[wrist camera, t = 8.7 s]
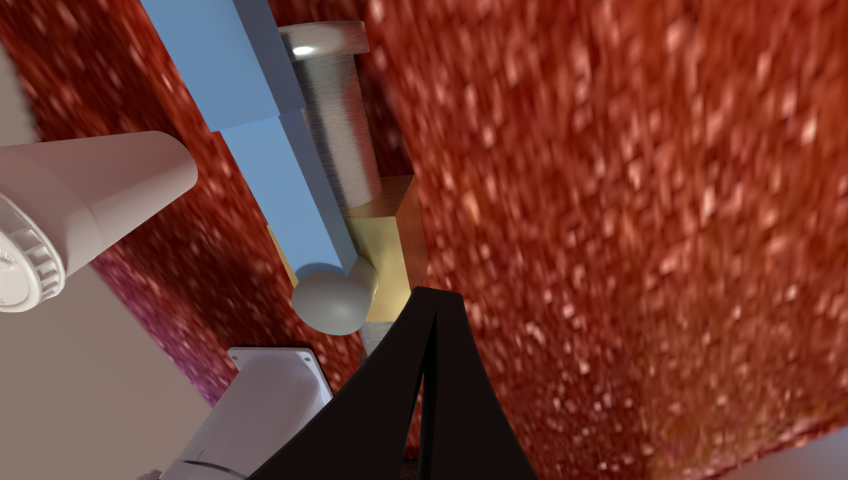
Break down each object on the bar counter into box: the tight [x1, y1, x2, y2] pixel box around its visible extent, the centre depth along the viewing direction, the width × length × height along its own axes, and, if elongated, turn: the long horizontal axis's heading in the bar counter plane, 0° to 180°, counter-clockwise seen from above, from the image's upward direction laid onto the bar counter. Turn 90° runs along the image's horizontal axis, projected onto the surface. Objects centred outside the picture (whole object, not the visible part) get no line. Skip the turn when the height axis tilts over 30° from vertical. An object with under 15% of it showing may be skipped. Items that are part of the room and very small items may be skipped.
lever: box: [140, 0, 378, 335], centre depth 12 cm, size 13×3×2 cm, turn 13°
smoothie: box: [0, 131, 198, 312], centre depth 13 cm, size 6×6×14 cm
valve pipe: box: [266, 20, 429, 380], centre depth 17 cm, size 20×6×5 cm, turn 8°
